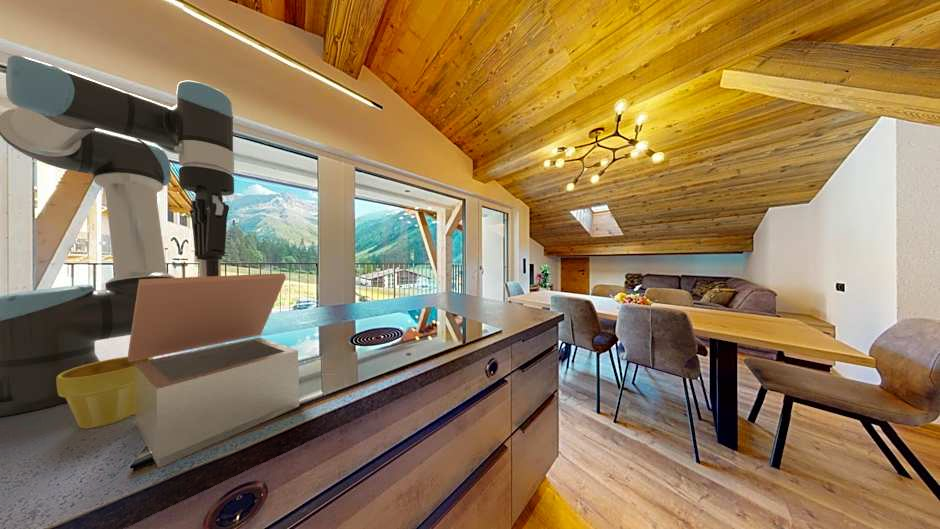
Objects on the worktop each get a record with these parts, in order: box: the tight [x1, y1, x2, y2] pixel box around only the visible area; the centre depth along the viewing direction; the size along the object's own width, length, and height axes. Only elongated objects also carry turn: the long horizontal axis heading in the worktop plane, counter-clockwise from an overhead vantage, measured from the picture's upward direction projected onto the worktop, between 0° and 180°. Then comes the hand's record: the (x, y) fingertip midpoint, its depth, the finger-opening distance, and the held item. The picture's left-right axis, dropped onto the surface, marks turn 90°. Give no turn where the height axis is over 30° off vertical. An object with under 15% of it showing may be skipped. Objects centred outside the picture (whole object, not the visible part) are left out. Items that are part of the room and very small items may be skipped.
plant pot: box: [56, 356, 154, 430], centre depth 48 cm, size 10×10×10 cm
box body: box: [134, 336, 300, 469], centre depth 49 cm, size 18×18×11 cm
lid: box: [127, 272, 287, 362], centre depth 51 cm, size 19×19×4 cm
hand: (210, 293), depth 51 cm, fingers closed
